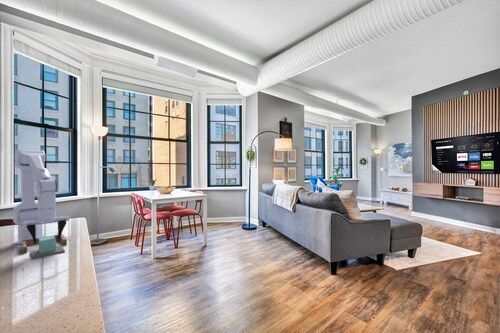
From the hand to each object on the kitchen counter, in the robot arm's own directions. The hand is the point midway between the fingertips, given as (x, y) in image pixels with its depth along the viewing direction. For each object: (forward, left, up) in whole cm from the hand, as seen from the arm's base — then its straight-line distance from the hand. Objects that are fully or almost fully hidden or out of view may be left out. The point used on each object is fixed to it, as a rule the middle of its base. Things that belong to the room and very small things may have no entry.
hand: (47, 240), depth 99 cm
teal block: (0, 0, -4) cm, 4 cm away
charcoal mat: (0, 0, -5) cm, 5 cm away
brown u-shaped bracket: (-10, -6, -5) cm, 13 cm away
